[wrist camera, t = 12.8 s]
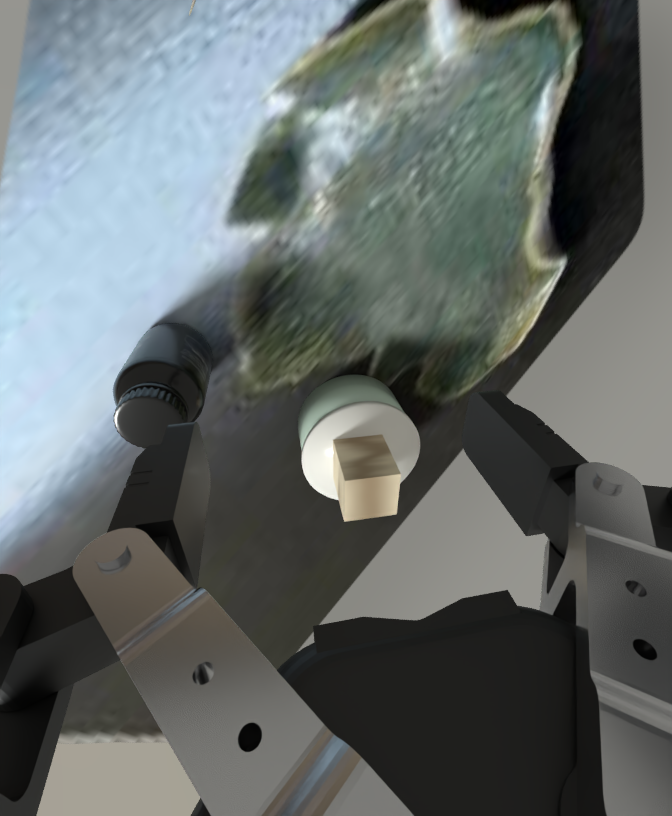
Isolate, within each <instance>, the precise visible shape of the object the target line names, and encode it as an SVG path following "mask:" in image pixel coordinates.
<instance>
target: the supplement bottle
mask: <svg viewBox="0 0 672 816" xmlns="http://www.w3.org/2000/svg"><path fill="white" fill-rule="evenodd" d="M212 362H213V358H212V352H211V349H210V346H209V344H208V343H207V341H206V340H205V339H204V337H203V336H202V335H201V334H199V333H198V332H197V331H195V330H194V329H192V328H190V327H188V326H185V325H182V324H177V323H165V324H160V325H157V326H155V327H153V328H151V329H150V330H148V331H147V332H146V333H145V334H144V335H143V336H142V338H141V339H140V341H139V342H138V344H137V345H136V347H135V349H134V350H133V352H132V353H131V355H130V356H129V358H128V360H127V361H126V363H125V364H124V366H123V368H122V369H121V371H120V372H119V374H118V376H117V378H116V380H115V383H114V387H113V396H114V401H115V404H116V406H117V407H116V409H115V413H114V423H115V427H116V428H117V432H118V433H120V435H121V437H123V438H124V439H125V440H126V441H128V442H130V443H131V444H133V445H136V446H137V447H142V448H147V447H148V446H149V445H157V444H162V441H163V437H164V434H165V431H166V428H167V426H168V425H172V424H181V423H191V422H194V421H195V420H196V419H197V418H198V417H199V415H200V414H201V412H202V409H203V406H204V402H205V397H206V392H207V388H208V383H209V378H210V374H211V369H212Z"/></svg>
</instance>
